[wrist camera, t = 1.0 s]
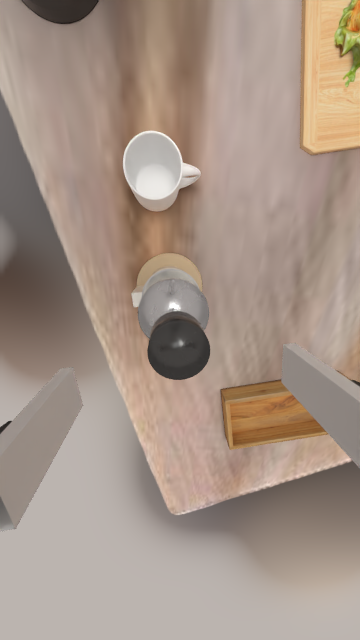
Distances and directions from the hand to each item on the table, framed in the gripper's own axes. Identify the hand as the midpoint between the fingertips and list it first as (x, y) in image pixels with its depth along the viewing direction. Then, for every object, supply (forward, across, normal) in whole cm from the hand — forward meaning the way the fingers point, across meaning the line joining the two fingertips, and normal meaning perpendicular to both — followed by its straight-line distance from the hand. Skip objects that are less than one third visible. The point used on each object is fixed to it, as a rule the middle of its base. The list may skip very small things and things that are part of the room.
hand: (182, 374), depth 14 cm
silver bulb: (+14, 0, 0) cm, 14 cm away
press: (+35, 0, +1) cm, 35 cm away
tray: (+36, +26, -33) cm, 56 cm away
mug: (+35, +1, +20) cm, 40 cm away
